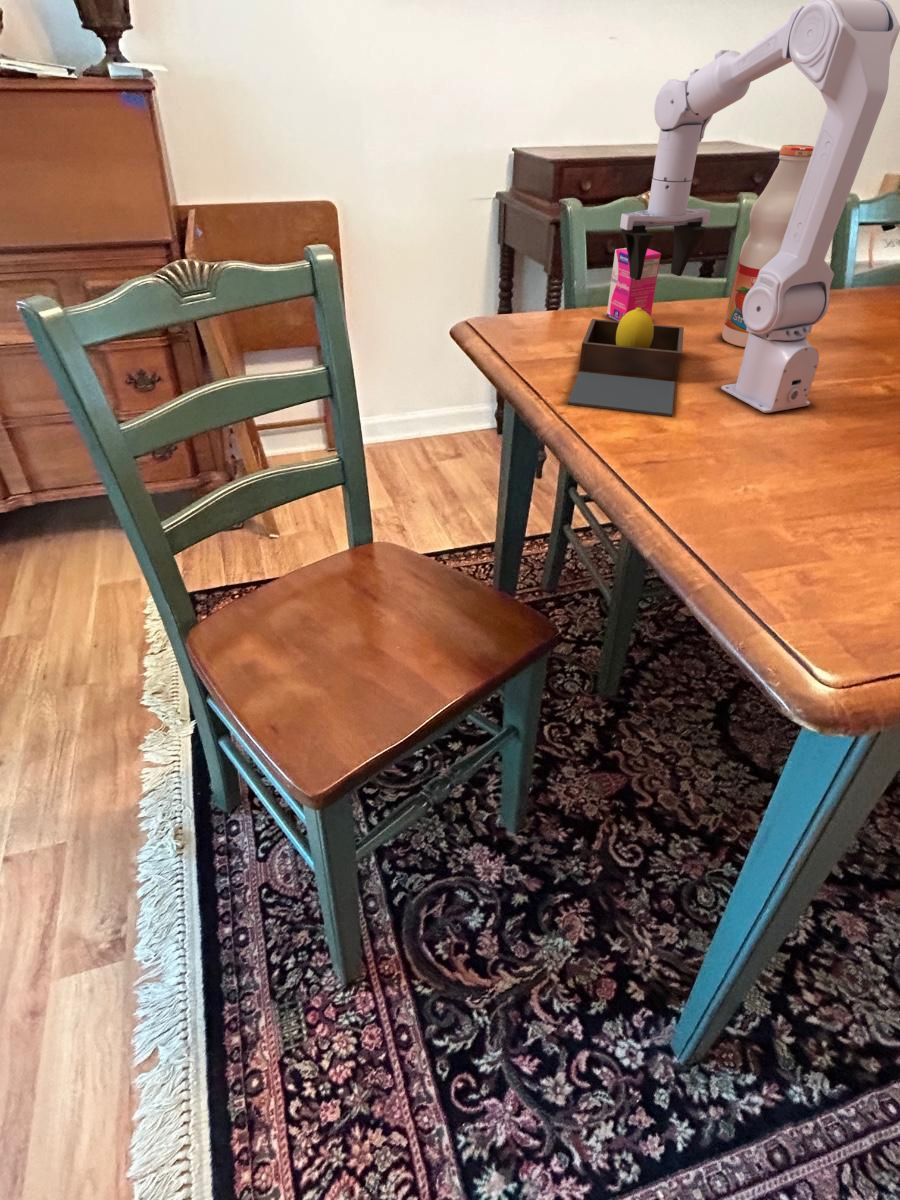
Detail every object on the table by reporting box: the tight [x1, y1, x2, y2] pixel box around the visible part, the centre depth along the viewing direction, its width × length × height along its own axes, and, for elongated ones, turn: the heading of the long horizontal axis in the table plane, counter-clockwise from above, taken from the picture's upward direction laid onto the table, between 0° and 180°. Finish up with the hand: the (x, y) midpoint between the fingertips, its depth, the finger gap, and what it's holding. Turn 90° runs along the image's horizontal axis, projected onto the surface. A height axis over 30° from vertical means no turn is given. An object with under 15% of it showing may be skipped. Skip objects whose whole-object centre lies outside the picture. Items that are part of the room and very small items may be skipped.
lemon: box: [616, 308, 654, 348], centre depth 113 cm, size 6×6×8 cm
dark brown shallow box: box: [578, 318, 685, 383], centre depth 114 cm, size 14×12×4 cm
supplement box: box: [606, 247, 662, 321], centre depth 130 cm, size 6×6×12 cm
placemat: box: [567, 371, 676, 417], centre depth 105 cm, size 14×12×1 cm
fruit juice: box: [721, 144, 815, 348], centre depth 116 cm, size 9×9×28 cm
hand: (655, 276), depth 118 cm, fingers open, 7 cm apart
